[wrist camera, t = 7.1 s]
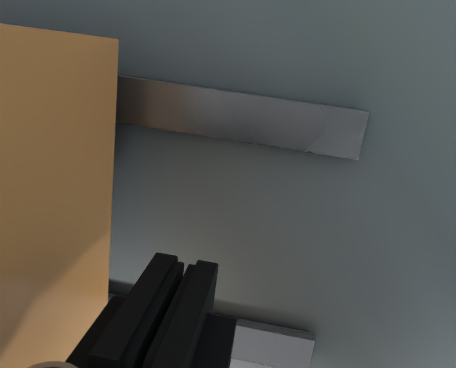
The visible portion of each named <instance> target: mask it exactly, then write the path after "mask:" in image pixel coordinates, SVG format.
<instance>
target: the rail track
mask: <svg viewBox="0 0 456 368" xmlns="http://www.w3.org/2000/svg"><path fill="white" fill-rule="evenodd" d="M369 114H370V112H368V111H365V110H358V109H351V108H345V107H338V106H331V105H324V104H317V103H310V102H303V101H296V100H289V99H283V98H276V97H269V96H262V95H255V94H248V93H241V92H234V91H227V90H221V89H214V88H207V87H200V86H193V85H186V84H179V83H172V82H165V81H159V80H152V79H145V78H138V77H131V76H124V75H117V99H116V122H118V123H124V124H131V125H137V126H143V127H150V128H156V129H163V130H169V131H175V132H182V133H188V134H195V135H201V136H208V137H214V138H220V139H227V140H233V141H240V142H246V143H252V144H259V145H265V146H272V147H278V148H284V149H291V150H297V151H304V152H310V153H316V154H323V155H329V156H336V157H342V158H348V159H355V160H359V156H360V152H361V147H362V143H363V139H364V135H365V131H366V126H367V122H368V118H369ZM114 295H117V294H112V293H108V302H109V301H110V299H111V298H112V297H113V296H114ZM119 296H122V295H119ZM125 297H127V296H125ZM212 314H214V313H212ZM217 315H220V314H217ZM223 316H225V315H223ZM228 317H230V316H228ZM233 318H235V317H233ZM314 345H315V333H312V332H306V331H301V330H296V329H291V328H286V327H281V326H276V325H271V324H266V323H260V322H255V321H250V320H245V319H240V318H237V324H236V330H235V336H234V343H233V349H232V355H231V358H233V359H238V360H243V361H248V362H253V363H258V364H262V365H267V366H272V367H277V368H309V366H310V362H311V358H312V353H313V349H314Z"/></svg>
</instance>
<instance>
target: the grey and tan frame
mask: <svg viewBox="0 0 456 368" xmlns="http://www.w3.org/2000/svg"><path fill="white" fill-rule="evenodd" d="M118 52H119V39H115V38H107V37H100V36H93V35H85V34H78V33H71V32H64V31H56V30H49V29H42V28H34V27H27V26H20V25H12V24H5V23H0V368H28V367H30V366H32V365H34V364H38V363H42V362H47V361H62V362H65V361H66V359H67V358H68V357H69V355H70V354H71V353H72V351H73V350H74V349H75V347H76V346H77V344H78V343H79V342H80V340H81V339H82V338H83V336H84V335H85V333H86V332H87V331H88V329H89V328H90V327H91V325H92V324H93V322H94V321H95V320H96V318H97V317H98V316H99V314H100V313H101V312H102V310H103V309H104V307H105V306H106V305H107V303H108V284H109V261H110V237H111V214H112V191H113V168H114V145H115V122H116V99H117V75H118Z"/></svg>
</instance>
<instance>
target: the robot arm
mask: <svg viewBox="0 0 456 368" xmlns="http://www.w3.org/2000/svg"><path fill="white" fill-rule="evenodd" d="M183 271H184V263H182V262H178V257H177V256H174V255H168V254H163V253H156V254H155V255H154V257H153V258H152V260H151V261H150V263H149V264H148V266H147V267H146V269H145V270H144V272H143V273H142V275H141V276H140V278H139V279H138V281H137V282H136V284H135V285H134V287H133V288H132V290H131V291H130V293H129V294H128V296H127V297H125V296H119V295H114V296H113V297H112V298H111V299H110V301H109V302H108V303H107V305H106V306H105V307H104V309H103V310H102V312H101V313H100V314H99V316H98V317H97V318H96V320H95V321H94V322H93V324H92V325H91V327H90V328H89V329H88V331H87V332H86V333H85V335H84V336H83V338H82V339H81V340H80V342H79V343H78V344H77V346H76V347H75V349H74V350H73V351H72V353H71V354H70V355H69V357H68V358H67V359H66V361H65V362H62V361H47V362H42V363H38V364H34V365H32V366H30V367H28V368H229V367H230V361H231V355H232V349H233V343H234V336H235V330H236V324H237V318H233V317H228V316H223V315H217V314H212V310H213V302H214V295H215V288H216V280H217V273H218V263H212V262H207V261H201V260H198V261H197V263H196V265H193V264H189V265H188V267H187V269H186V272H185V274H184V276H183Z"/></svg>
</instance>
